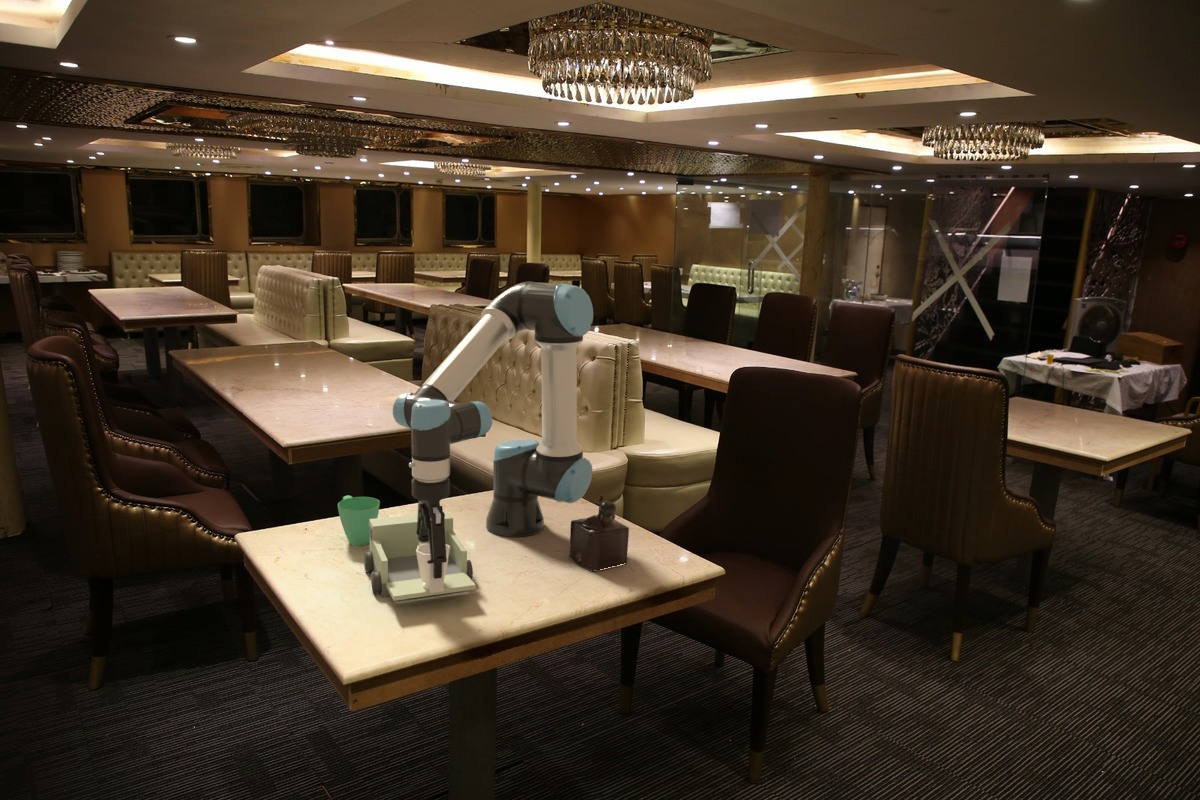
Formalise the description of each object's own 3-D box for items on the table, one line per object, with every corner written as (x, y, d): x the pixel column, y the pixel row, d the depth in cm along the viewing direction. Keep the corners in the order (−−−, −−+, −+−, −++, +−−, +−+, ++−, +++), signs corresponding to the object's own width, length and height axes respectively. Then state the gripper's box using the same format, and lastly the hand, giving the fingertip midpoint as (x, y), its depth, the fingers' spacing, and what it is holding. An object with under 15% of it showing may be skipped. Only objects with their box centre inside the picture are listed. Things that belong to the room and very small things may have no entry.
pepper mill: (565, 557, 188) (568, 486, 185) (603, 549, 195) (606, 479, 191) (602, 581, 176) (605, 505, 172) (641, 572, 182) (645, 498, 178)
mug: (386, 544, 192) (386, 505, 190) (347, 552, 186) (346, 512, 184) (364, 526, 203) (363, 489, 201) (326, 533, 197) (325, 495, 195)
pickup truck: (454, 554, 188) (454, 510, 185) (473, 584, 172) (474, 537, 169) (363, 565, 179) (362, 519, 177) (375, 598, 163) (374, 548, 161)
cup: (420, 594, 156) (420, 556, 154) (408, 575, 165) (408, 539, 163) (455, 589, 159) (455, 551, 157) (441, 570, 168) (441, 534, 166)
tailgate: (464, 572, 169) (475, 584, 161) (464, 578, 169) (475, 590, 161) (386, 582, 163) (393, 596, 154) (386, 588, 163) (393, 602, 155)
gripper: (401, 463, 166) (402, 562, 170) (423, 496, 146) (423, 607, 150) (437, 461, 169) (437, 558, 173) (463, 492, 149) (462, 601, 153)
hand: (430, 580), depth 162 cm, fingers closed on cup, 10 cm apart
